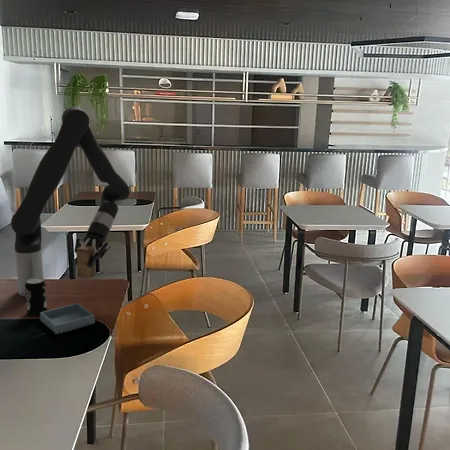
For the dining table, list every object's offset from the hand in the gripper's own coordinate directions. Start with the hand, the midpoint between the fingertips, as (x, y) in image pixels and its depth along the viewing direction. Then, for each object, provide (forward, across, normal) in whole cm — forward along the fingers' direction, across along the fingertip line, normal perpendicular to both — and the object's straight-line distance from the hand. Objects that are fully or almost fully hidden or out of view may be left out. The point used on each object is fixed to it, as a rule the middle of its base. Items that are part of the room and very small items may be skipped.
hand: (82, 265), depth 168 cm
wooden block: (+2, 0, +5) cm, 5 cm away
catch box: (+21, +4, 0) cm, 22 cm away
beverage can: (+20, -10, +2) cm, 22 cm away
